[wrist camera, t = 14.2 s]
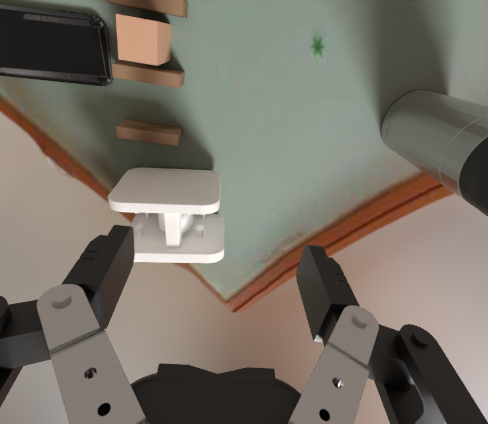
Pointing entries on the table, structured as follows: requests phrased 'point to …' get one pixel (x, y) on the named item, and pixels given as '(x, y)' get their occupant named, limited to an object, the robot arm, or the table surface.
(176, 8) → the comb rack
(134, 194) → the cable organizer
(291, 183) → the table surface
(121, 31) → the plug block
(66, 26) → the phone
